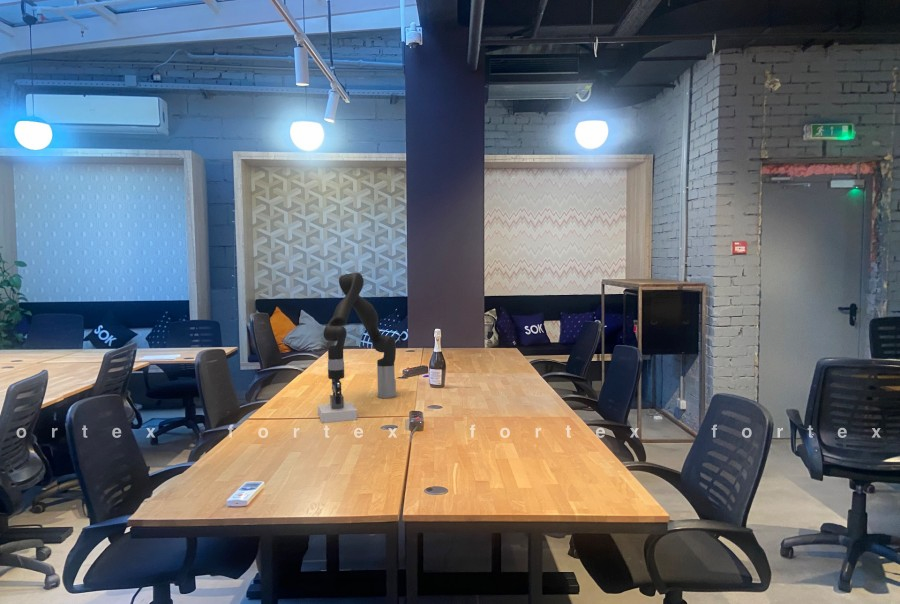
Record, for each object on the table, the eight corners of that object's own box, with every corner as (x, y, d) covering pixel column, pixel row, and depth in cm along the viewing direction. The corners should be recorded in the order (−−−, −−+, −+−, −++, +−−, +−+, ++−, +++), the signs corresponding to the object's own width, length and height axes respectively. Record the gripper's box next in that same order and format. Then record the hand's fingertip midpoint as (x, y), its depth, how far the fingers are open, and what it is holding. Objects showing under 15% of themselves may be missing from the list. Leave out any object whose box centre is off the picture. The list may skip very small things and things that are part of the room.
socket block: (351, 411, 289) (351, 402, 288) (357, 419, 273) (356, 410, 273) (318, 414, 283) (317, 405, 283) (322, 423, 268) (321, 413, 268)
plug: (342, 414, 282) (341, 394, 281) (344, 417, 277) (343, 396, 276) (330, 416, 280) (329, 395, 280) (332, 419, 275) (331, 397, 274)
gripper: (346, 370, 271) (347, 404, 272) (341, 365, 285) (342, 398, 286) (329, 371, 269) (330, 406, 270) (326, 366, 282) (327, 399, 283)
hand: (336, 402), depth 278 cm, fingers open, 8 cm apart
